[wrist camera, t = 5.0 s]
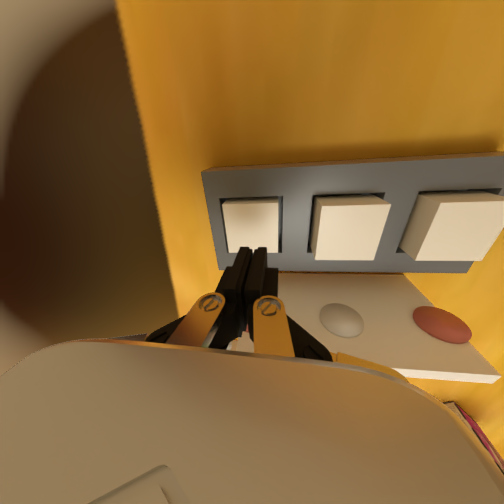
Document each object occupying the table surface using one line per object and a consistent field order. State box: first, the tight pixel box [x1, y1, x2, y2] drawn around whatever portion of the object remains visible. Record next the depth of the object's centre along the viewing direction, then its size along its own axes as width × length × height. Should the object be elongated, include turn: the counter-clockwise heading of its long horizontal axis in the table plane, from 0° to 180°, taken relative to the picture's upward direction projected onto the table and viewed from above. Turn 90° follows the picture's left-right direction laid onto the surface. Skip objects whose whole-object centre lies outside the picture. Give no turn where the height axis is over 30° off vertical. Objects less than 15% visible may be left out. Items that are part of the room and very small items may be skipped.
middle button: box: [310, 194, 391, 260], centre depth 16 cm, size 5×5×3 cm
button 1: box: [398, 191, 504, 261], centre depth 15 cm, size 5×5×3 cm
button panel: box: [201, 152, 504, 384], centre depth 15 cm, size 24×14×11 cm, turn 94°
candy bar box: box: [443, 402, 504, 475], centre depth 29 cm, size 11×5×16 cm, turn 47°
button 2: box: [222, 196, 278, 253], centre depth 18 cm, size 5×5×3 cm
